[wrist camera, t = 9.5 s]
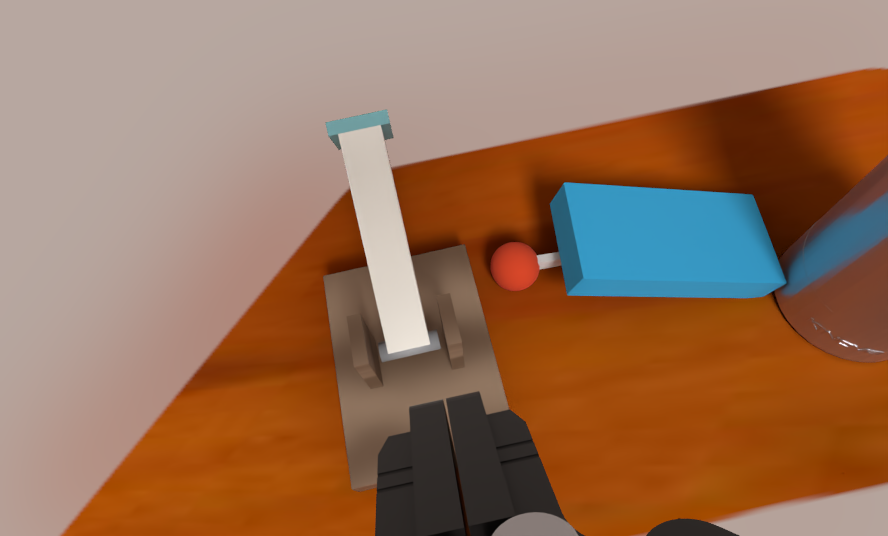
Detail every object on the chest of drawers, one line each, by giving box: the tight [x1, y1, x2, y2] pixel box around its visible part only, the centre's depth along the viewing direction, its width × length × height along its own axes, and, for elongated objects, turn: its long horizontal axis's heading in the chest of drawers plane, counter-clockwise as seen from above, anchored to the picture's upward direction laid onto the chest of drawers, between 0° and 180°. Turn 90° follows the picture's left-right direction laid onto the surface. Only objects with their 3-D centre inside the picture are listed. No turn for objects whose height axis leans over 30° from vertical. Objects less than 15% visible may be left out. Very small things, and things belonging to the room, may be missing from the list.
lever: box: [490, 182, 787, 298], centre depth 38 cm, size 7×7×18 cm
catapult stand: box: [323, 244, 509, 492], centre depth 34 cm, size 14×10×7 cm
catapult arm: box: [326, 110, 441, 362], centre depth 34 cm, size 4×4×14 cm
